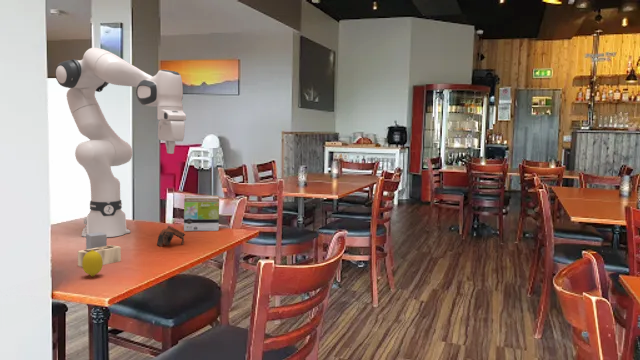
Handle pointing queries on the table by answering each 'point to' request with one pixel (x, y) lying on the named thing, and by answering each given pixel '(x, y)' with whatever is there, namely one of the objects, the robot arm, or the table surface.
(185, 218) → the tea box
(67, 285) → the table surface
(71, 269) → the table surface
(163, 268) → the table surface
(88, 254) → the lemon
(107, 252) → the birch block
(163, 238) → the dark brown arched figure
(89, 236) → the grey block
